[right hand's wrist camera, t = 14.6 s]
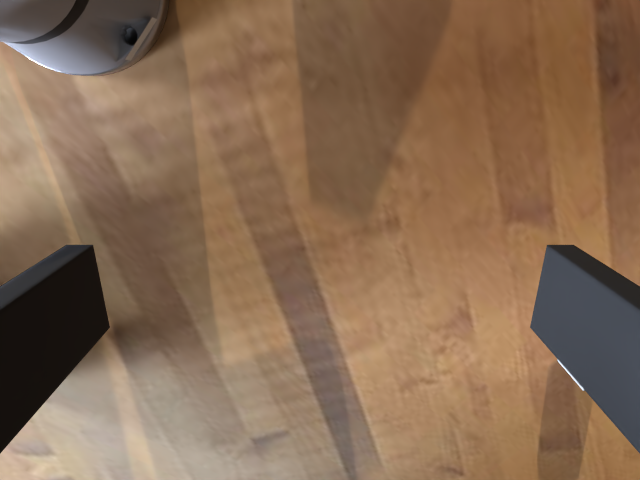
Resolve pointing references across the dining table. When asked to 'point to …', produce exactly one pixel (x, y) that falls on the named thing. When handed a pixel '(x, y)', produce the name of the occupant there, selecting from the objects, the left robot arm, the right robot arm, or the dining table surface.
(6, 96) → the dining table surface
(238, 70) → the dining table surface
